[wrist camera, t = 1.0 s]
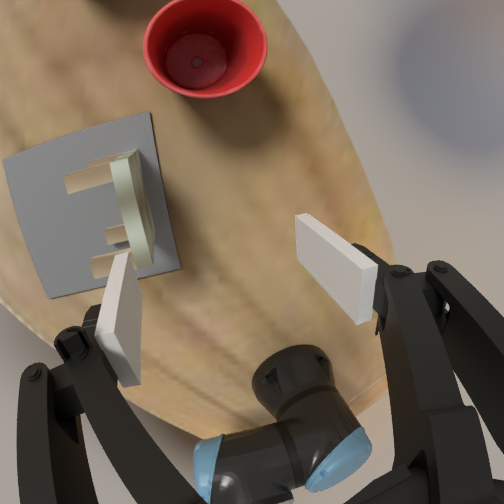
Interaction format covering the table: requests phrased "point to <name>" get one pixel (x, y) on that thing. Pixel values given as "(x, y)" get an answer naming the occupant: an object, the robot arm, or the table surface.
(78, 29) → the table surface
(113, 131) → the mat
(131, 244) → the stool
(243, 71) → the flower pot
